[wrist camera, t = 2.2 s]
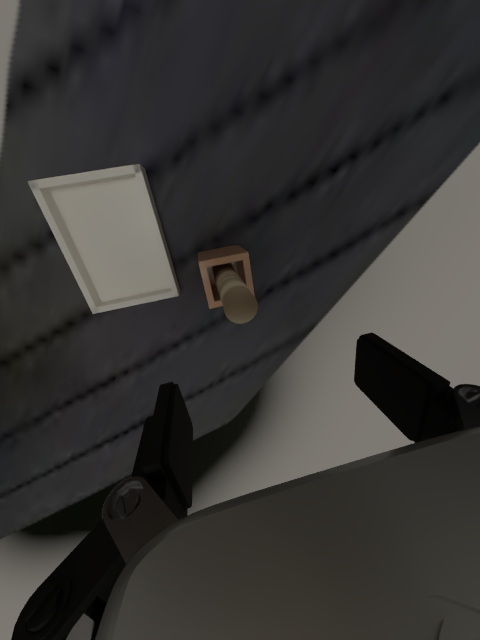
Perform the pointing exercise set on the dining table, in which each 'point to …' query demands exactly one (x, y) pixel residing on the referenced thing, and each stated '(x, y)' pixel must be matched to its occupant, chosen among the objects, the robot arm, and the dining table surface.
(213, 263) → the terracotta cup
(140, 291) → the plastic tray
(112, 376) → the dining table surface
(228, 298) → the beech dowel
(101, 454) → the dining table surface
